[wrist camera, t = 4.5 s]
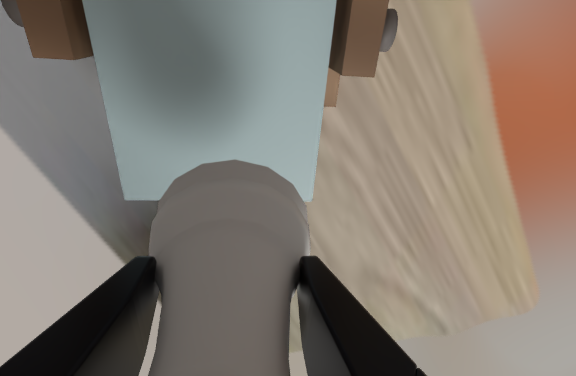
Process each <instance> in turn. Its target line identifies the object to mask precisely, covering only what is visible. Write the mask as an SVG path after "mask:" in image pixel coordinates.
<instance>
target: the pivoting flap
mask: <svg viewBox="0 0 576 376" xmlns="http://www.w3.org/2000/svg"><path fill="white" fill-rule="evenodd" d="M336 1H337V0H82V2H83V7H84V11H85V16H86V21H87V25H88V30H89V35H90V40H91V44H92V49H93V54H94V58H95V63H96V68H97V72H98V77H99V82H100V87H101V91H102V96H103V101H104V105H105V110H106V115H107V120H108V124H109V129H110V134H111V138H112V143H113V148H114V152H115V157H116V162H117V167H118V171H119V176H120V181H121V185H122V190H123V195H124V199H125V200H160V199H161V197H162V196H163V195H164V193H165V192H166V190H167V189H168V188H169V186H170V185H171V183H172V182H173V181H174V179H176V178H178V177H179V176H181V175H183V174H185V173H186V172H188V171H190V170H192V169H194V168H195V167H197V166H199V165H201V164H204V163H212V162H220V161H227V160H235V159H236V160H240V161H244V162H249V163H253V164H258V165H262V166H266V167H269V168H270V169H272V170H273V171H275V172H276V173H278V174H279V175H281V176H282V177H283V178H285V179H286V180H288V181H289V182H291V183H292V184H293V185H294V187H295V188H296V190H297V192H298V193H299V195H300V196H301V198H302V200H303V201H312V197H313V189H314V181H315V173H316V164H317V156H318V148H319V140H320V132H321V124H322V115H323V107H324V99H325V91H326V83H327V74H328V66H329V58H330V50H331V42H332V34H333V25H334V17H335V9H336Z"/></svg>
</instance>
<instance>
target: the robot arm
mask: <svg viewBox="0 0 576 376" xmlns="http://www.w3.org/2000/svg"><path fill="white" fill-rule="evenodd" d="M156 264H157V261H156V259H155V257H153V256H137V257H135V258H134V259H132V260H131V261H130V262H129V263H127V264H126V265H125V266H124V267H122V268H121V269H120V270H119V271H118V272H116V273H115V274H114V275H113V276H111V277H110V278H109V279H108V280H106V281H105V282H104V283H103V284H102V285H100V286H99V287H98V288H97V289H95V290H94V291H93V292H92V293H90V294H89V295H88V296H87V297H86V298H84V299H83V300H82V301H81V302H80V303H78V304H77V305H76V306H74V307H73V308H72V309H71V310H70V311H68V312H67V313H66V314H65V315H63V316H62V317H61V318H60V319H59V320H57V321H56V322H55V323H54V324H52V325H51V326H50V327H49V328H47V329H46V330H45V331H44V332H42V333H41V334H40V335H39V336H38V337H36V338H35V339H34V340H33V341H31V342H30V343H29V344H28V345H26V346H25V347H24V348H23V349H22V350H20V351H19V352H18V353H17V354H15V355H14V356H13V357H12V358H10V359H9V360H8V361H7V362H5V363H4V364H3V365H2V366H1V367H0V376H138V375H139V372H140V369H141V366H142V363H143V360H144V356H145V353H146V349H147V345H148V340H149V335H150V330H151V326H152V321H153V317H154V312H155V308H156V303H157V298H158V294H159V288H158V286H157V283H156V281H155V272H156ZM299 265H300V281H299V284H298V286H297V294H298V306H299V318H300V329H301V340H302V348H303V354H304V359H305V364H306V369H307V374H308V376H427V375H426V374H425V373H424V372H423V371H422V370H421V369H420V368H417V365H416V364H415V363H414V361H413V360H411V358H410V357H409V356H408V355H407V354H406V353H405V352H404V351H403V350H402V348H401V347H400V346H399V345H398V344H397V343H396V342H395V341H394V340H393V339H392V337H391V336H390V335H389V334H388V333H387V332H386V331H385V330H384V329H383V328H382V327H381V325H380V324H379V323H378V322H377V321H376V320H375V319H374V318H373V317H372V316H371V315H370V313H369V312H368V311H367V310H366V309H365V308H364V307H363V306H362V305H361V304H360V303H359V301H358V300H357V299H356V298H355V297H354V296H353V295H352V294H351V293H350V292H349V290H348V289H347V288H346V287H345V286H344V285H343V284H342V283H341V282H340V281H339V280H338V278H337V277H336V276H335V275H334V274H333V273H332V272H331V271H330V270H329V269H328V268H327V266H326V265H325V264H324V263H323V262H322V261H321V260H320V259H319V258H318V257H317V256H302V257H301V258H300V262H299Z"/></svg>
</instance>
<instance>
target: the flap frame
mask: <svg viewBox="0 0 576 376" xmlns="http://www.w3.org/2000/svg"><path fill="white" fill-rule="evenodd" d="M1 2H2V5H3V7H4V9H5V11H6V13H7V14H8V16H9V17H10V18H11V19H12V21H13V22H15V23H16V24H17V25H19V26H21V27H24V29H25V32H26V35H27V39H28V42H29V45H30V49H31V52H32V55H33V58H49V59H66V60H76V59H81V58H86V57H90V56H94V54H93V49H92V44H91V40H90V35H89V30H88V25H87V21H86V16H85V11H84V7H83V2H82V0H1ZM388 3H389V0H337V1H336V9H335V17H334V25H333V34H332V42H331V50H330V58H329V66H328V74H327V83H326V91H325V99H324V106H328V107H336V101H337V94H338V87H339V80H340V75H342V76H358V77H374V76H375V71H376V66H377V60H378V55H379V51H380V52H387V51H388V50H389V49H390V47H391V46H392V44H393V42H394V39H395V36H396V32H397V25H398V16H397V12H396V10H395V9H387V8H388Z"/></svg>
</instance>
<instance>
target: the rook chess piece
mask: <svg viewBox="0 0 576 376" xmlns="http://www.w3.org/2000/svg"><path fill="white" fill-rule="evenodd" d="M310 251H311V245H310V232H309V224H308V219H307V207H306V205H305V203H304V201H303V200H302V198H301V196H300V195H299V193H298V192H297V190H296V188H295V187H294V185H293V184H292V183H291V182H289V181H288V180H286V179H285V178H283V177H282V176H281V175H279V174H278V173H276V172H275V171H273V170H272V169H270V168H269V167H266V166H262V165H258V164H253V163H249V162H244V161H240V160H236V159H235V160H227V161H220V162H212V163H204V164H201V165H199V166H197V167H195V168H194V169H192V170H190V171H188V172H186V173H185V174H183V175H181V176H179V177H178V178H176V179H174V181H173V182H172V183H171V185H170V186H169V188H168V189H167V190H166V192H165V193H164V195H163V196H162V197H161V199H160V200H159V202H158V208H157V215H156V216H155V218H154V219H153V220H152V224H151V233H150V241H149V256H153V257H155V259H156V261H157V264H156V272H155V281H156V283H157V286H158V288H159V290H160V292H161V297H162V308H161V315H160V322H159V329H158V337H157V344H156V350H155V354H154V357H153V361H152V364H151V368H150V371H149V375H148V376H290V369H289V360H288V358H289V328H290V303H291V298H292V297H293V296H294V293H295V291H296V289H297V286H298V284H299V281H300V265H299V262H300V258H301V257H302V256H310Z"/></svg>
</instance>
